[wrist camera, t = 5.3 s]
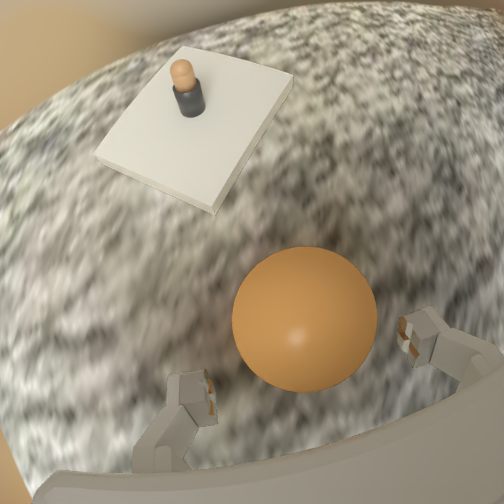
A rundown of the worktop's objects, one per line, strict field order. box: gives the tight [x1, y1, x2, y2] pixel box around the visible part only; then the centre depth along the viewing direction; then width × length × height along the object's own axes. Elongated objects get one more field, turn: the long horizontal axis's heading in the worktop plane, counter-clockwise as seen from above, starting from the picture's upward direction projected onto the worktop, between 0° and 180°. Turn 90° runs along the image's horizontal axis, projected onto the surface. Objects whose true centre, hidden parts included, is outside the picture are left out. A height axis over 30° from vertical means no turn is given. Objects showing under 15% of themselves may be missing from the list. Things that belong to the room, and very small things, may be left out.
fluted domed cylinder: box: [232, 247, 377, 392], centre depth 14 cm, size 5×5×8 cm
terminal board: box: [93, 46, 294, 215], centre depth 19 cm, size 12×10×6 cm
